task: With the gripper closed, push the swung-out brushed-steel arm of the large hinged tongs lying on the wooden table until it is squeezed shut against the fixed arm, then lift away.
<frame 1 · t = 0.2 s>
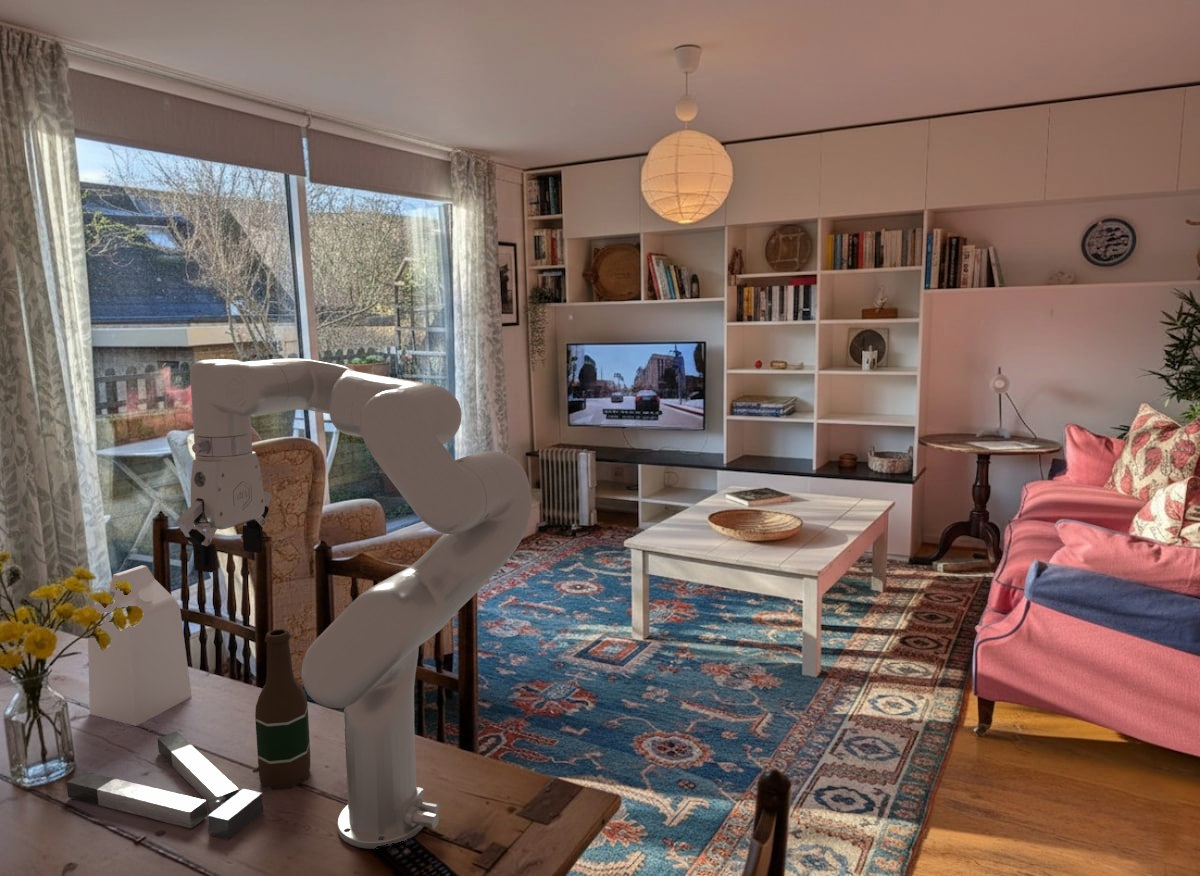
hand: (230, 561, 120), 36 cm above the table, tool pointing down, fingers open, 9 cm apart
tongs arm: (193, 773, 127), point 2 cm above the table, hinge at -25.0°
beer bottle: (285, 778, 129), on the table
milk: (142, 706, 152), on the table
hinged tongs: (218, 818, 119), on the table
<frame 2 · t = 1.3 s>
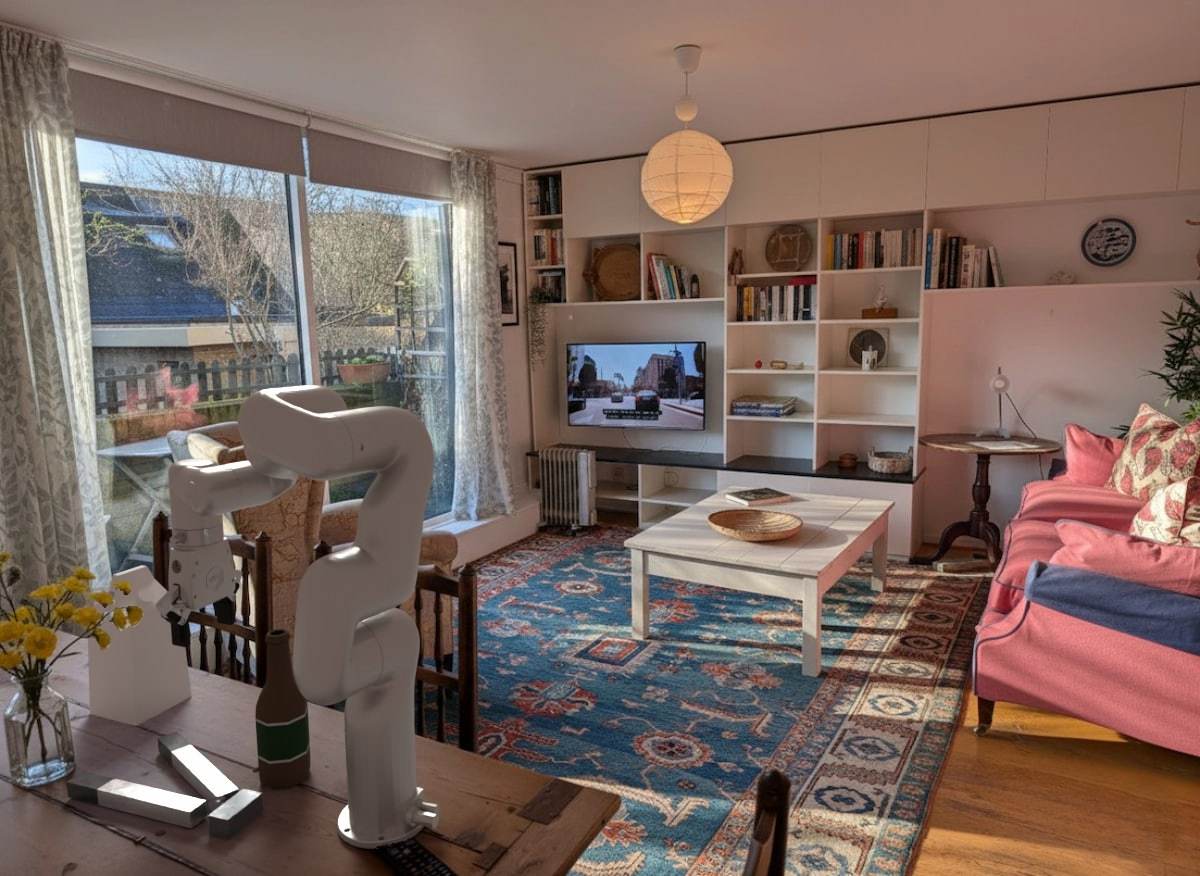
hand: (204, 634, 137), 19 cm above the table, tool pointing down, fingers open, 9 cm apart
nothing on the table moved.
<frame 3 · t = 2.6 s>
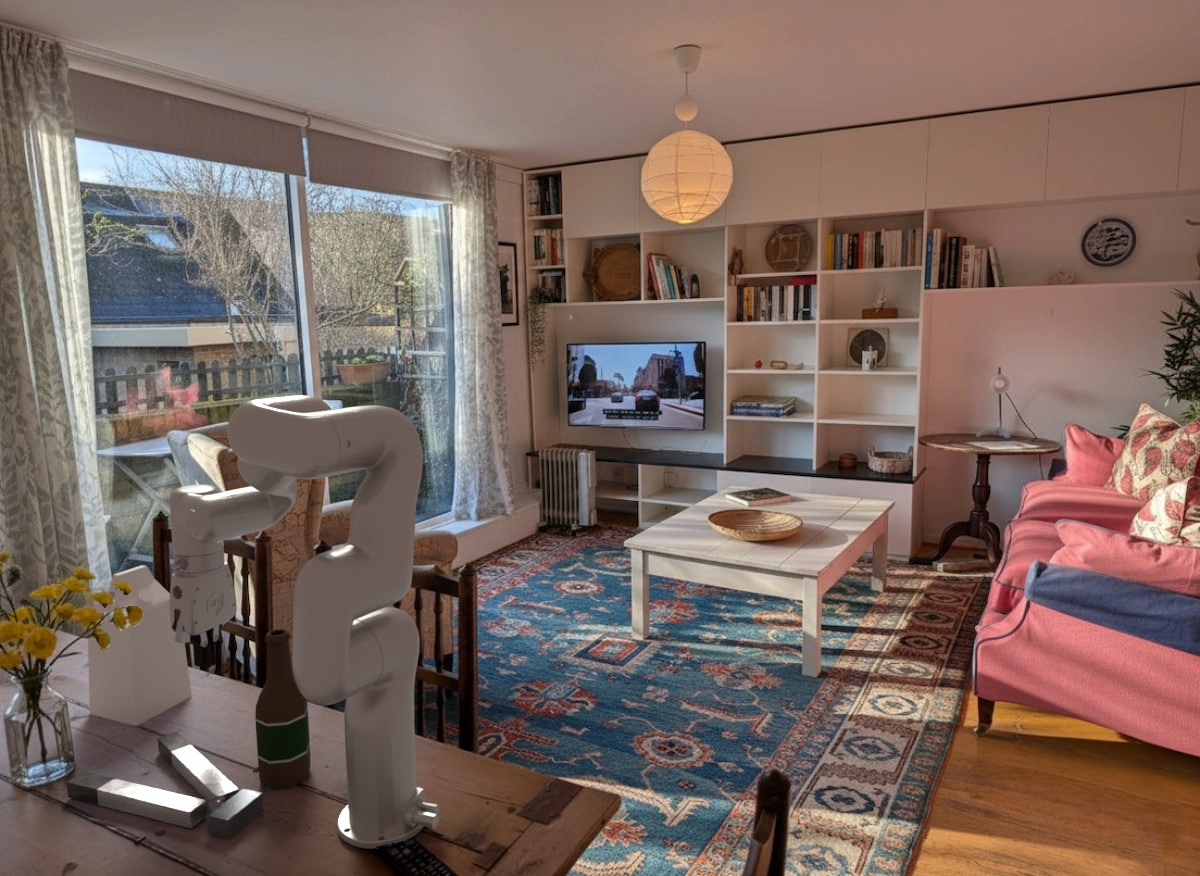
hand: (205, 664, 138), 14 cm above the table, tool pointing down, fingers closed
nothing on the table moved.
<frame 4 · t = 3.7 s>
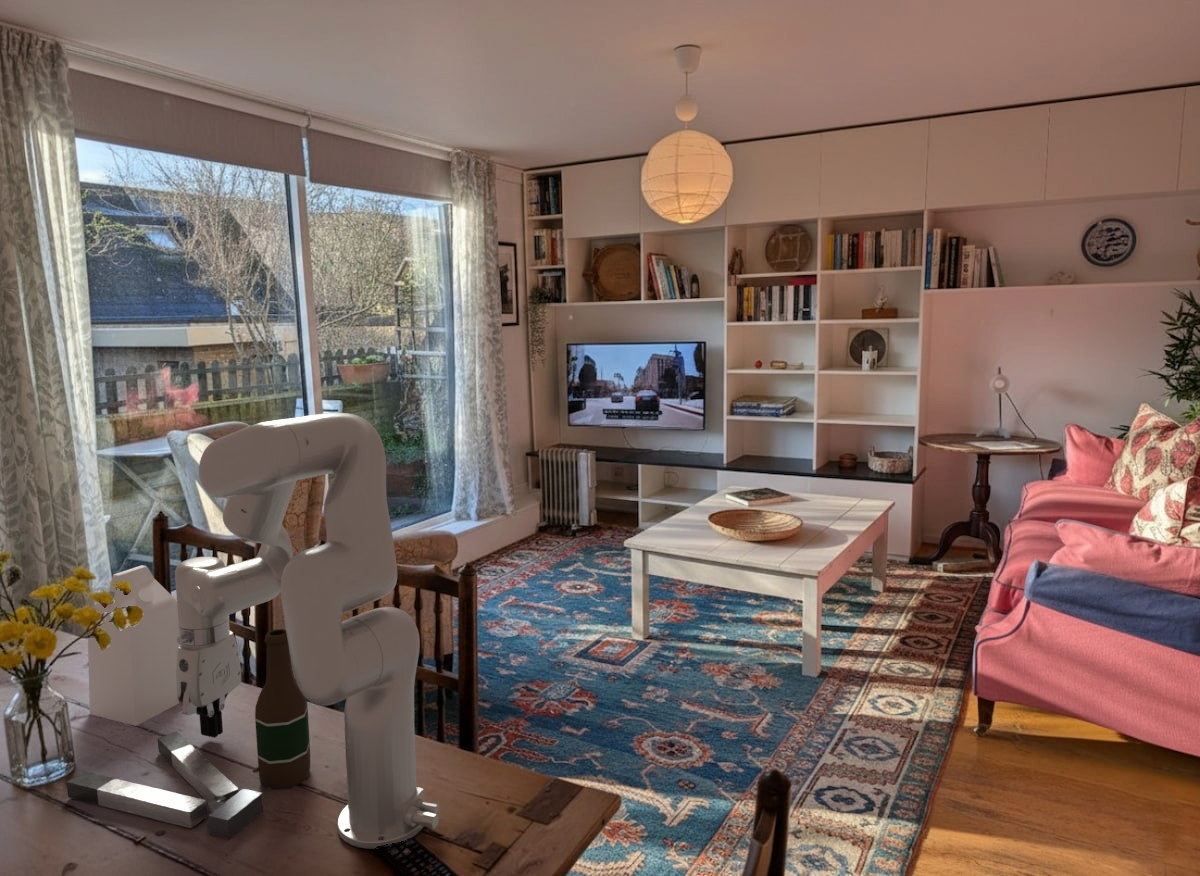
hand: (212, 733, 140), 1 cm above the table, tool pointing down, fingers closed
nothing on the table moved.
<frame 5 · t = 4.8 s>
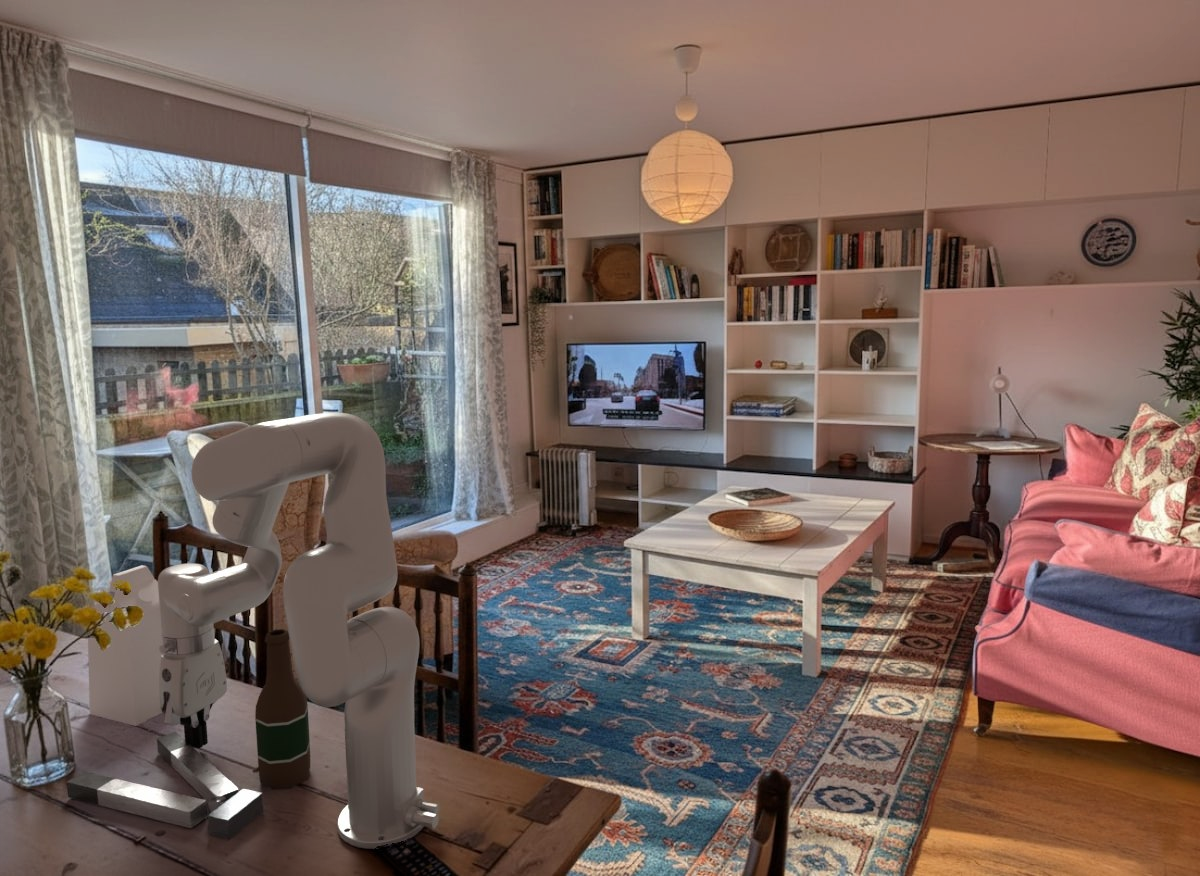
hand: (196, 744, 136), 1 cm above the table, tool pointing down, fingers closed
tongs arm: (193, 774, 127), point 2 cm above the table, hinge at -24.7°, touching gripper
everything else where it was.
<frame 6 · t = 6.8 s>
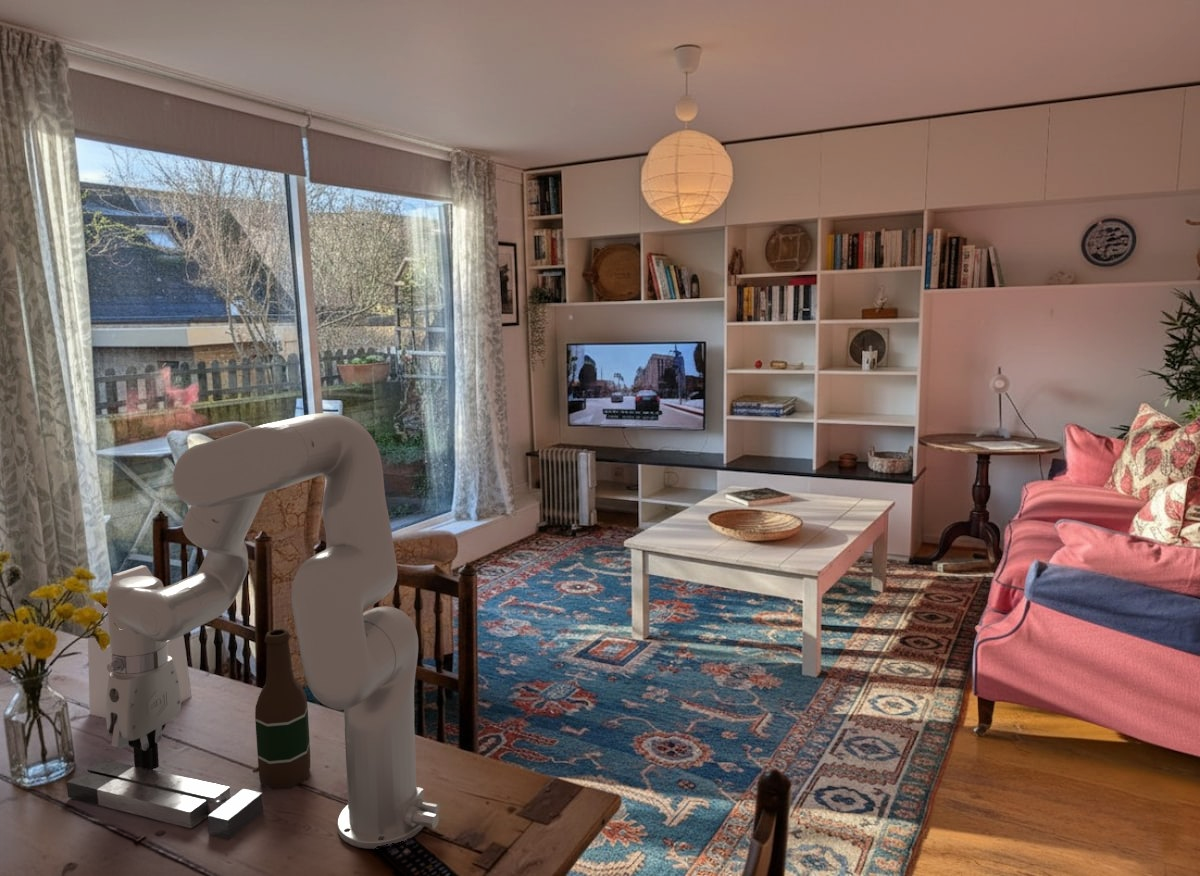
hand: (146, 767, 128), 2 cm above the table, tool pointing down, fingers closed
tongs arm: (158, 789, 123), point 2 cm above the table, hinge at 0.7°, touching gripper
everything else where it was.
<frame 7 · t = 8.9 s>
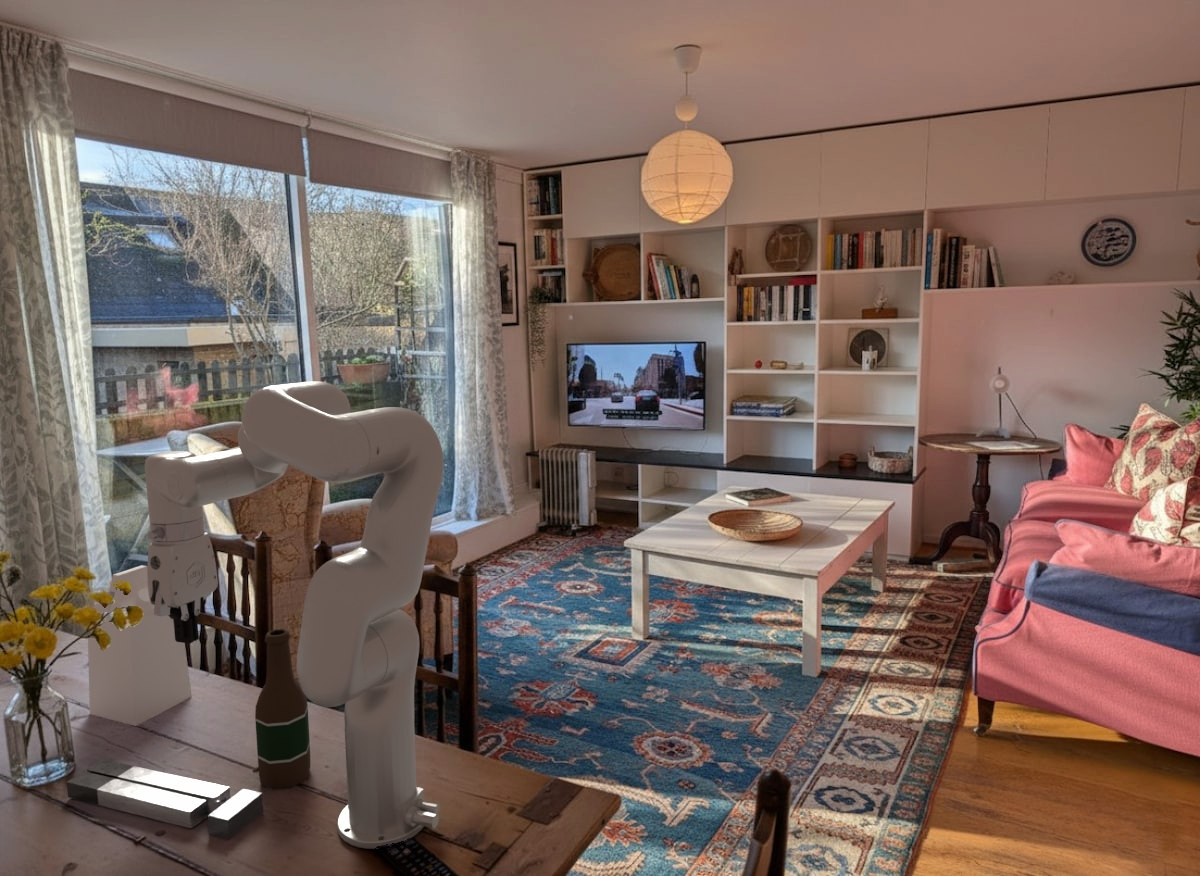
hand: (187, 640, 132), 20 cm above the table, tool pointing down, fingers closed
tongs arm: (158, 789, 123), point 2 cm above the table, hinge at 0.9°
everything else where it was.
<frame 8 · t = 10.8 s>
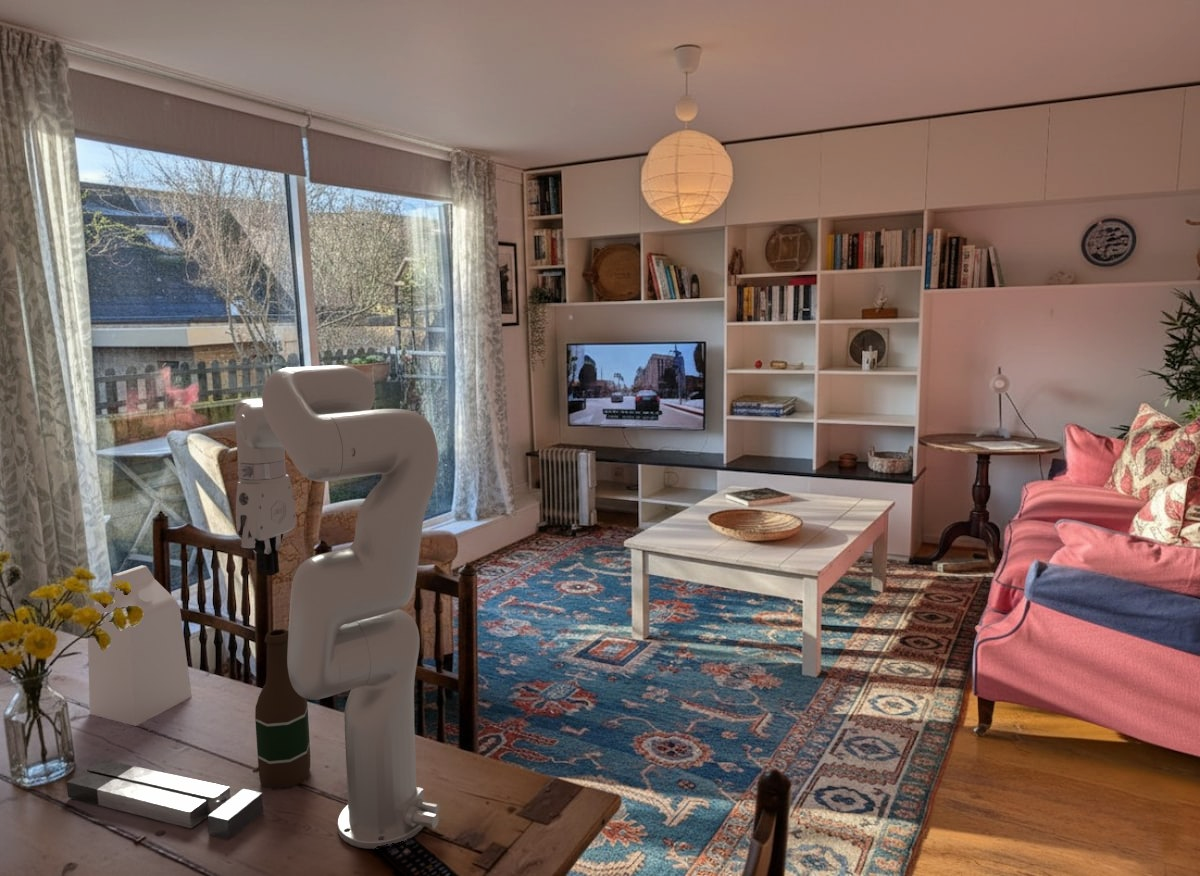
hand: (268, 573, 143), 27 cm above the table, tool pointing down, fingers closed
nothing on the table moved.
at the end: tongs arm at +1° (first picture: -25°); beer bottle tilted 0° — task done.
